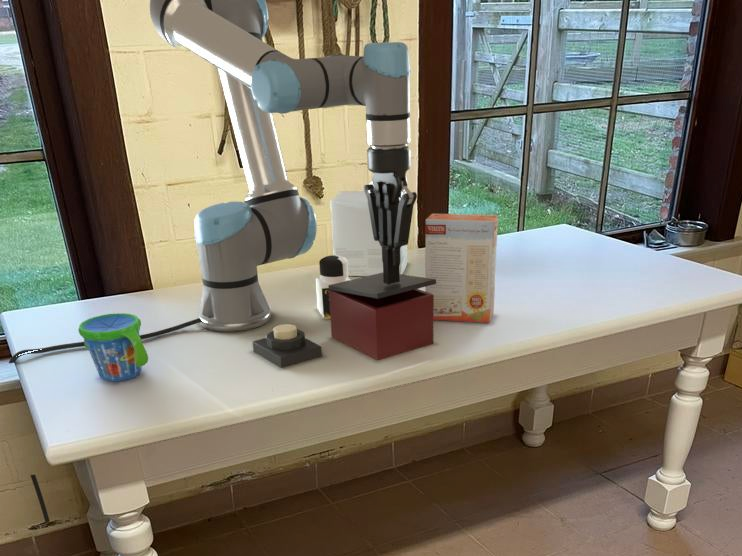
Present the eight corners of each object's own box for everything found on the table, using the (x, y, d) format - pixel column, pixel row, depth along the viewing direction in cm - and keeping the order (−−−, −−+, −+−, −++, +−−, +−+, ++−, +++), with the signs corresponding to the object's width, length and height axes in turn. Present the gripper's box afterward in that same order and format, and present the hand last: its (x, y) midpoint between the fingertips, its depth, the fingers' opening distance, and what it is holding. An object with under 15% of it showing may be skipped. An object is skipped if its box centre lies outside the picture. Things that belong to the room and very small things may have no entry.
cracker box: (494, 315, 170) (499, 213, 158) (489, 324, 165) (494, 220, 154) (430, 311, 173) (431, 211, 162) (424, 320, 168) (424, 218, 157)
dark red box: (433, 343, 156) (433, 294, 151) (377, 360, 149) (375, 309, 144) (386, 323, 167) (384, 276, 162) (331, 338, 160) (328, 290, 155)
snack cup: (73, 373, 148) (60, 320, 142) (123, 356, 154) (112, 305, 149) (118, 395, 139) (105, 340, 133) (168, 377, 145) (158, 323, 140)
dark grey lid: (436, 283, 149) (436, 279, 149) (377, 298, 142) (377, 293, 142) (385, 276, 162) (384, 271, 161) (328, 289, 155) (328, 285, 154)
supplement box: (408, 263, 206) (407, 189, 196) (401, 277, 194) (400, 200, 185) (343, 262, 208) (339, 189, 198) (333, 276, 197) (328, 200, 187)
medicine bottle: (323, 319, 170) (320, 263, 163) (317, 309, 176) (313, 255, 169) (355, 316, 171) (353, 260, 165) (348, 306, 177) (345, 251, 171)
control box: (322, 357, 152) (320, 337, 150) (281, 368, 147) (279, 348, 145) (292, 341, 159) (291, 322, 157) (253, 351, 155) (251, 332, 153)
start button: (301, 337, 151) (300, 328, 150) (281, 342, 149) (280, 333, 148) (289, 331, 154) (288, 322, 153) (270, 336, 152) (269, 327, 151)
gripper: (429, 147, 134) (428, 285, 146) (383, 140, 143) (386, 271, 155) (394, 152, 130) (396, 294, 143) (349, 144, 139) (355, 278, 152)
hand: (391, 281), depth 149 cm, fingers closed
